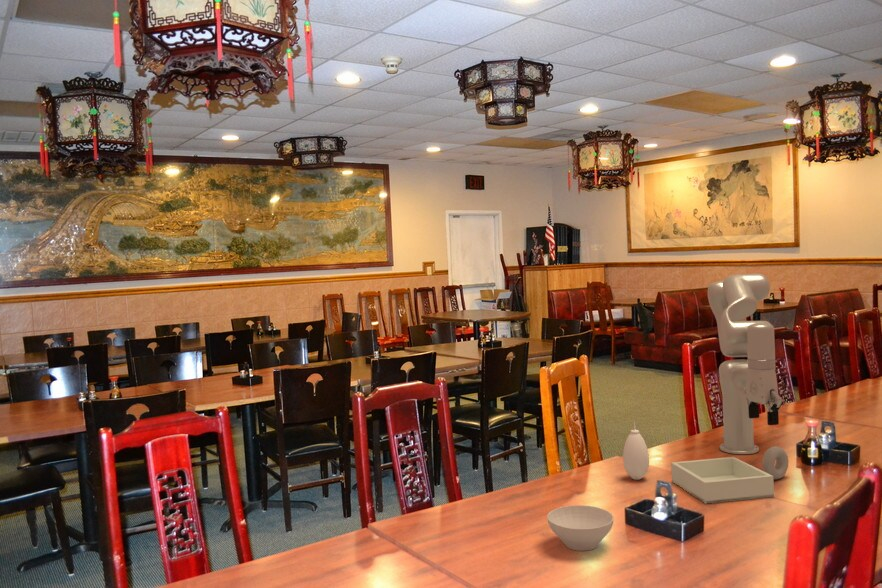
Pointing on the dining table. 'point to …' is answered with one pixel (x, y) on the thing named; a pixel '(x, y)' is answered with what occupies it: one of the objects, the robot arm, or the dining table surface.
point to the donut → (781, 462)
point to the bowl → (580, 525)
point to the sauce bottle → (635, 455)
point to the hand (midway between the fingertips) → (763, 421)
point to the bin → (722, 480)
